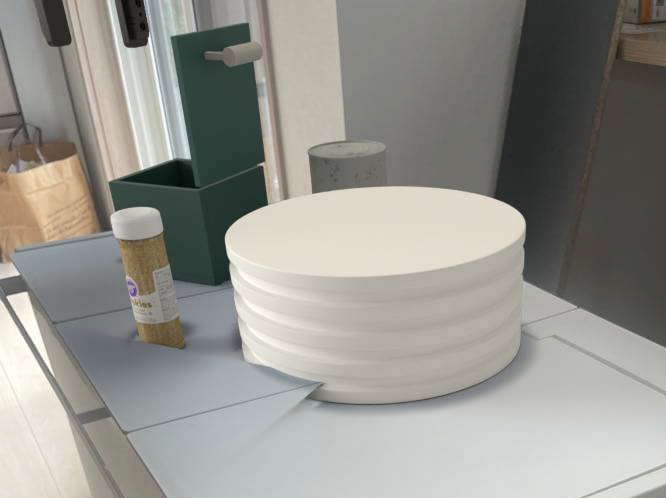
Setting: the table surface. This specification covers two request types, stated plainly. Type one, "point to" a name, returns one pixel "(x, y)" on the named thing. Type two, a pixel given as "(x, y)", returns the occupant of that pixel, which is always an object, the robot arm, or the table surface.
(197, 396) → the table surface
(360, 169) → the speckled concrete cylinder
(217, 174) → the lid
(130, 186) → the chest
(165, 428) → the table surface
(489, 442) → the table surface
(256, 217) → the plate stack
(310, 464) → the table surface
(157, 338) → the sprinkles bottle
